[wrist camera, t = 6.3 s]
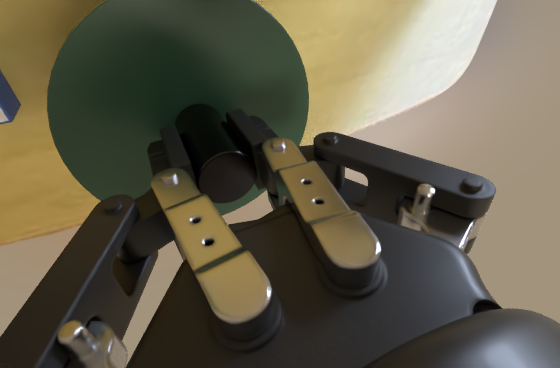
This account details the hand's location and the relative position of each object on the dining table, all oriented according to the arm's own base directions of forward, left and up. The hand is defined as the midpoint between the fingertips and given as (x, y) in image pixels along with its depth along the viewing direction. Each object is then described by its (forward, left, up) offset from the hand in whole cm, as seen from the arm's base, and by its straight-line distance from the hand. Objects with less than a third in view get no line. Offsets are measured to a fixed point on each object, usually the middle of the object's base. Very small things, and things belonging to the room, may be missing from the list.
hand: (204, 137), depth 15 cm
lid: (0, 0, -2) cm, 2 cm away
